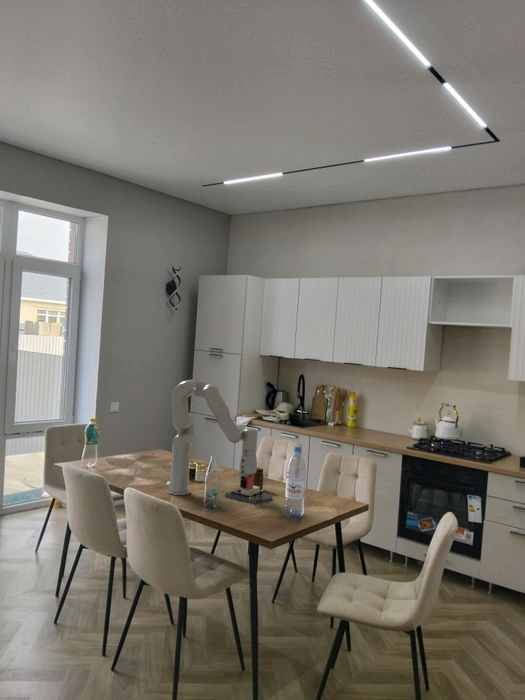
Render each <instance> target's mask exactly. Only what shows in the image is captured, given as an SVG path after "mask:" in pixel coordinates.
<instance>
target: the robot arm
mask: <svg viewBox="0 0 525 700" xmlns="http://www.w3.org/2000/svg"><path fill="white" fill-rule="evenodd" d="M190 396H191V397H192V396H194V397H199V398H202V399H203V400H204V402H205V403H206V405H207V407H208V408H209V410H210V411H211V413H212V415H213V417H214V418H215V420H216V422H217V424H218V426H219V428H220V430H221V432H222V433H223V434H224V436H225V437H226V438H227V440H228V441H229V442H230V443H231V444H237V443H240V441H242V442H241V443H242V445H241V458H240V462H239V473H238V476H239V478H241V487H243V488H246V483H247V480H246V477H247V475H250V476H254V474H255V473H256V471H257V468H258V464H257V463H258V460H257V459H258V457H257V445H258V430H257V429H256V428H251V427H250V428H249V427H248V428H245V427H242V426H241V427H240V426H237V425H236V424H235V422H234V420H233V418H232V416H231V414H230V409H229V407H228V405H227V404H226V401H224V398H223V397H222V396H221V395H220V390H219V387H217V386H216V385H215V384H212V383H208V382H203V381H201V380H196V379H186V380H184V381H181V382H180V383H178V384H177V385H176V386H175V387H174V388H173V391H172V393H171V413H172V414H171V416H172V427H173V428H174V429H175V430H176V435H175V436H174V437H173V440H172V442H171V453H172V454H171V467H170V468H171V469H170V480H169V481H167V482H166V483H165V484H164V485H165V486H166V487H168V488H167V489H166V492H167V494H169V495H172V494H173V495H174V496H187V495H189V493H190V492H192V491H191V489H189V479H190V478H189V477H190V462H191V461H190V460H191V447H192V446H193V445H194V443H195V427H194V418H193V415H192V414H191V412H189V402H188V398H189V397H190ZM243 475H245V477H244V476H243ZM186 494H187V495H186ZM190 494H191V493H190Z"/></svg>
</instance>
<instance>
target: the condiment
mask: <svg viewBox="0 0 525 700" xmlns="http://www.w3.org/2000/svg"><path fill="white" fill-rule="evenodd" d="M253 485H254V486H258V487H260V490H262V489H263V486H264V468H262V467H257V471H256V473H255V474H254V481H253Z"/></svg>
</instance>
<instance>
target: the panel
mask: <svg viewBox="0 0 525 700" xmlns="http://www.w3.org/2000/svg"><path fill="white" fill-rule="evenodd" d="M241 489H242V488H238V489H235V490H232V491H228V492H225V494H224V497H225V498H229V499H232V500H236V501H240V500H241V502H244V503H248V504H251V505H255V506H257V505H260V504H262V502H263V503H266V502H268V500H269V501H271V500H270V499H272V500H273V495H271V494H268V493H265V492H261V491H260V493H257V494H255V493H254V495H252V496H248V495H244V494H241ZM265 501H266V502H265Z"/></svg>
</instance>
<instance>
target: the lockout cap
mask: <svg viewBox="0 0 525 700" xmlns="http://www.w3.org/2000/svg"><path fill="white" fill-rule="evenodd" d="M243 476H244V477H245V475H243ZM239 478H240V477H239ZM239 480H240V482H239V489H241V488H243V487H241V478H240V479H239ZM246 480H247V483H246V488H244V489H250V488H253V481H254V476H250V475H247V477H246Z"/></svg>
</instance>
